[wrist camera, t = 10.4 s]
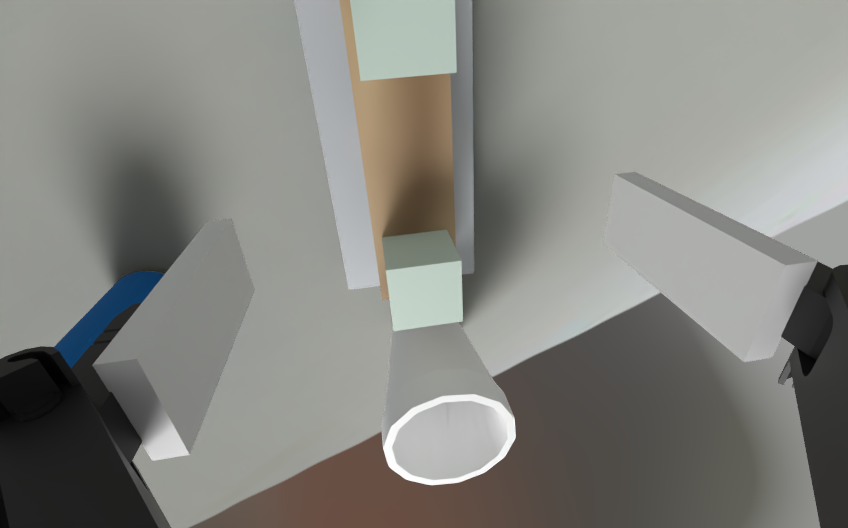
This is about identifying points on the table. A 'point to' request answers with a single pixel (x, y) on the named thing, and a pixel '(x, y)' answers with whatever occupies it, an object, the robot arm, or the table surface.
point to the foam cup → (442, 408)
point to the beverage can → (106, 313)
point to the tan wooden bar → (403, 151)
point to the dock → (342, 142)
